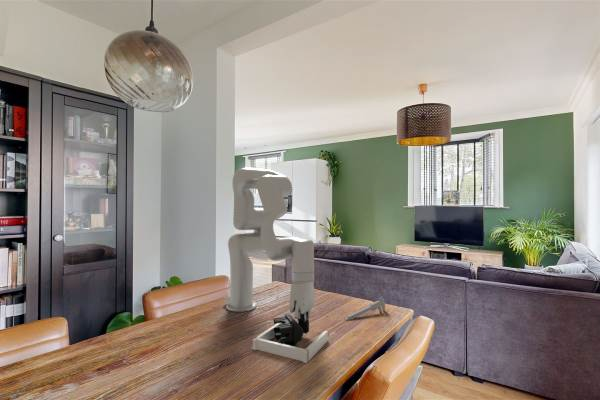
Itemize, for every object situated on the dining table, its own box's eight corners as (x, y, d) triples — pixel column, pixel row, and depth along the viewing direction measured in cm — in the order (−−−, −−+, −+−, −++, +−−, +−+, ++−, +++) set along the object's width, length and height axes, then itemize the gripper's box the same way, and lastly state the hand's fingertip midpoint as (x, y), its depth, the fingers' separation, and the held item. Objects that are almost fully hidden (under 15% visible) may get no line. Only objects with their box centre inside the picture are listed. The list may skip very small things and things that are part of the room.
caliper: (383, 311, 127) (383, 296, 128) (385, 312, 127) (385, 296, 127) (344, 320, 117) (344, 303, 117) (346, 321, 116) (346, 304, 116)
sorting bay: (252, 349, 93) (252, 339, 93) (279, 330, 107) (279, 321, 107) (306, 363, 85) (306, 352, 85) (327, 340, 99) (327, 331, 99)
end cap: (303, 345, 95) (303, 323, 95) (281, 349, 93) (280, 327, 93) (294, 332, 104) (293, 312, 104) (273, 336, 102) (273, 315, 102)
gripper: (302, 271, 111) (303, 322, 110) (282, 280, 97) (282, 338, 97) (321, 273, 107) (322, 326, 107) (303, 282, 94) (304, 343, 93)
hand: (303, 332), depth 102 cm, fingers closed
